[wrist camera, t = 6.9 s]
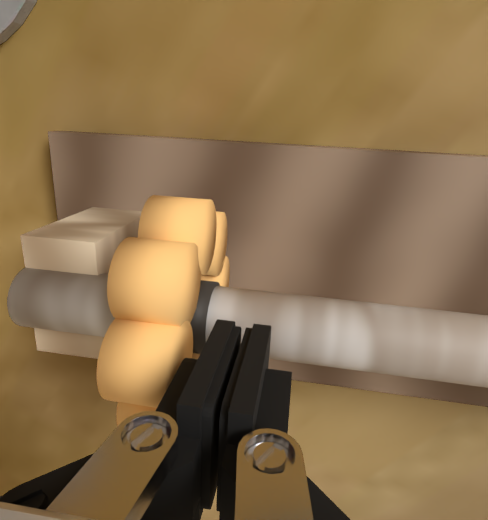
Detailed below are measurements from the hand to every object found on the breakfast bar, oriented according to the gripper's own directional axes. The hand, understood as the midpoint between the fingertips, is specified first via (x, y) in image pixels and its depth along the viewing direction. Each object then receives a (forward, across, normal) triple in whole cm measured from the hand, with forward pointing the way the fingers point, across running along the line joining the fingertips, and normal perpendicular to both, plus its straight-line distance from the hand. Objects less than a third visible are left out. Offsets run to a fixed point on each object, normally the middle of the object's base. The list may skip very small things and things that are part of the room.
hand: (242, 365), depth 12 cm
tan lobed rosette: (+7, +3, 0) cm, 8 cm away
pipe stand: (+9, -4, 0) cm, 10 cm away
